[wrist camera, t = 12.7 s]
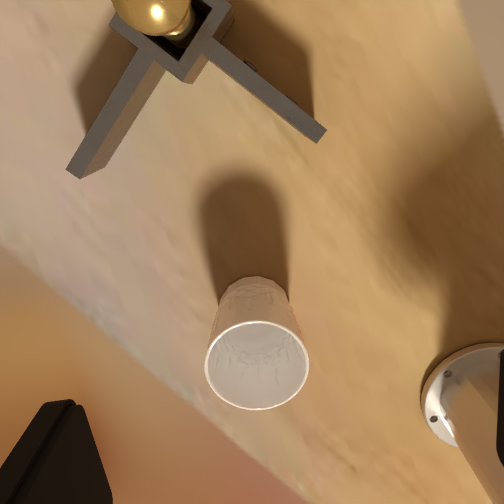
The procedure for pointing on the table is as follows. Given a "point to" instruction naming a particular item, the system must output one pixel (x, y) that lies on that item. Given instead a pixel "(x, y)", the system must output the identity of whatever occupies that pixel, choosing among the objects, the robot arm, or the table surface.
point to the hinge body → (186, 70)
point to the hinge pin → (161, 18)
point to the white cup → (256, 347)
